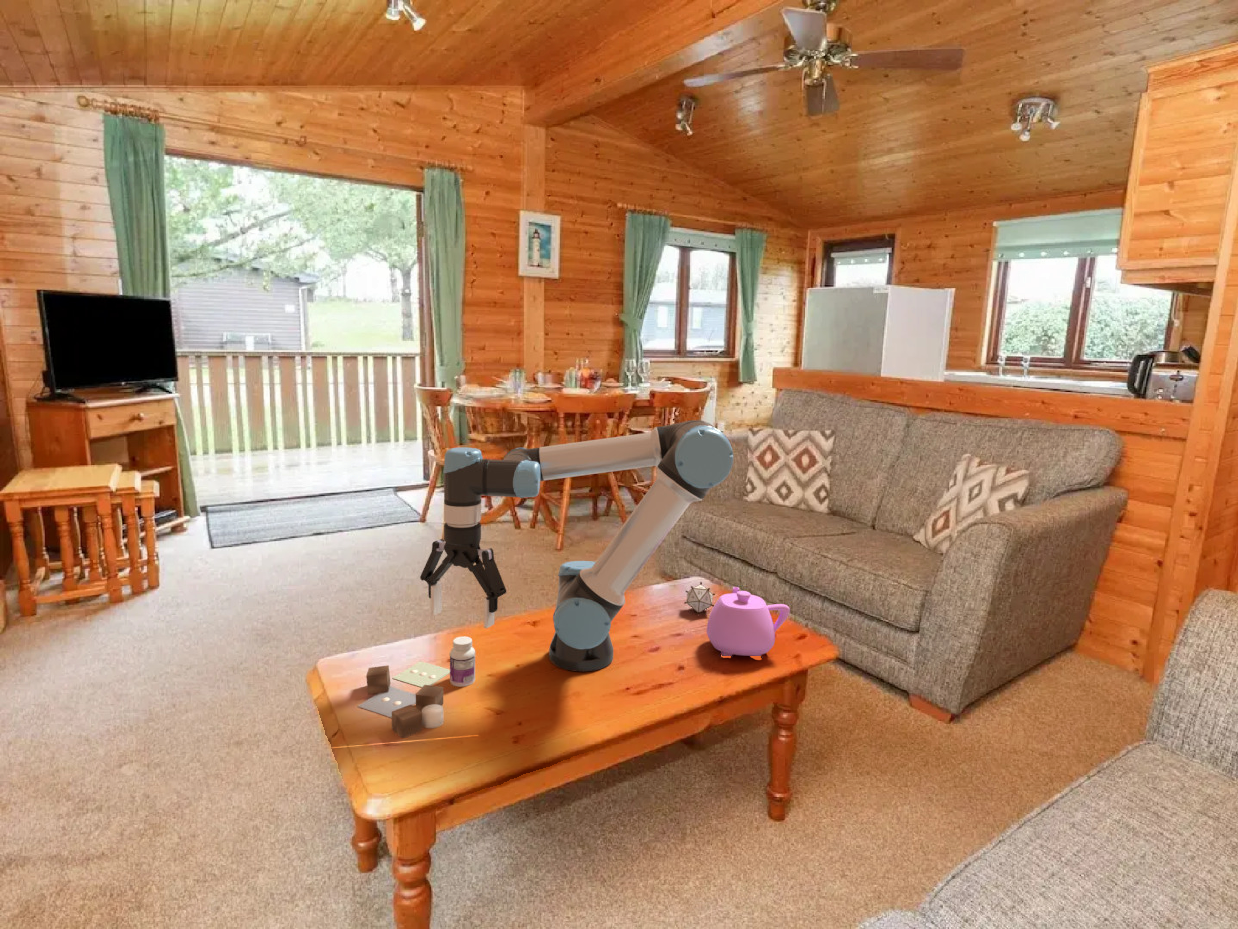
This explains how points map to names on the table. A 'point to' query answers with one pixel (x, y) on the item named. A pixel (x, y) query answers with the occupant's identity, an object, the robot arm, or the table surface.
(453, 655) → the pill bottle
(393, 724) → the cube
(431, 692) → the cube
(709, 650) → the table surface
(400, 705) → the pad two
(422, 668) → the pad three
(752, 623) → the teapot
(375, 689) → the cube
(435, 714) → the white cap
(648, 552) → the robot arm
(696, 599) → the game die
